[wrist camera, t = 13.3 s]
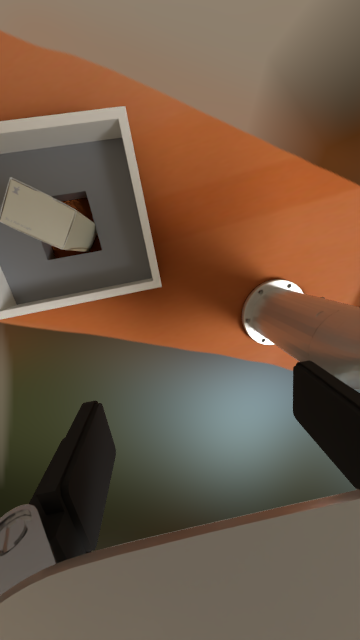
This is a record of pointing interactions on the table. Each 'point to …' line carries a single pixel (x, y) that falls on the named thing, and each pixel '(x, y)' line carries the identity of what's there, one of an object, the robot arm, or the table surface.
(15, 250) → the bore box
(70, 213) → the skincare box
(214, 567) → the robot arm
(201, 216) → the table surface
